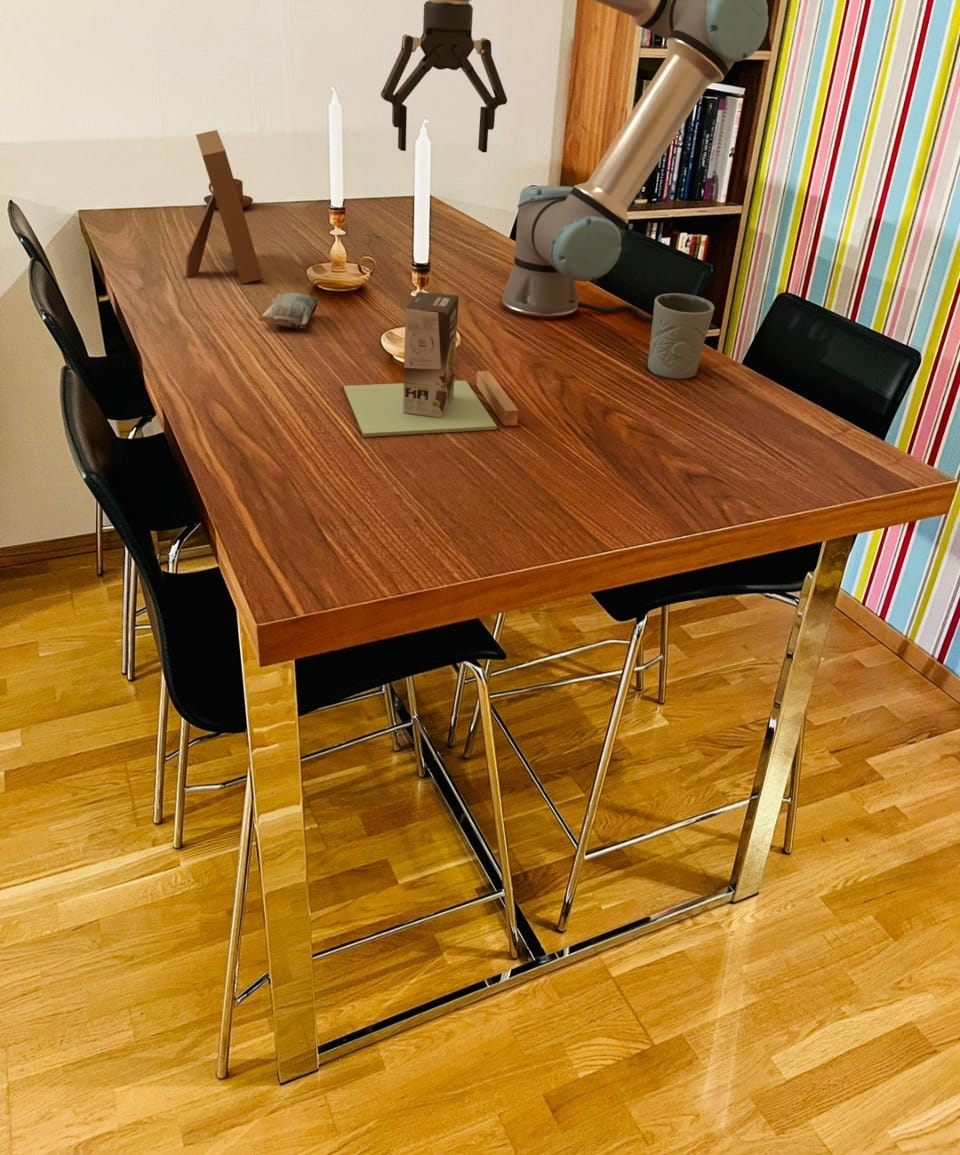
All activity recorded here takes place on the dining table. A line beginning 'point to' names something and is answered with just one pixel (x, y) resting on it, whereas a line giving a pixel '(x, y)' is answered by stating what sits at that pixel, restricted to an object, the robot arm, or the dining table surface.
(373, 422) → the mat
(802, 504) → the dining table surface
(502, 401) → the rail
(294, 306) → the grey bean bag
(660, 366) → the grey embossed cup
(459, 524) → the dining table surface
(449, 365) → the coffee box
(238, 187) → the cup and saucer
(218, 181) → the photo frame
